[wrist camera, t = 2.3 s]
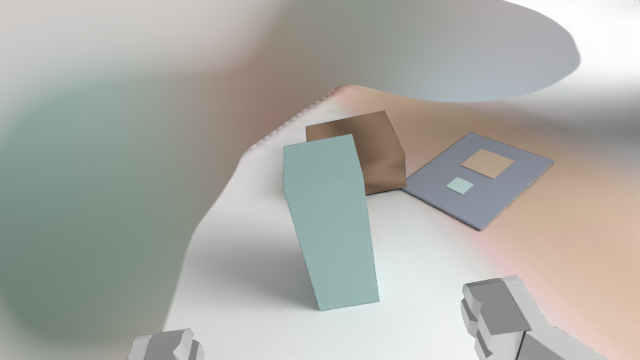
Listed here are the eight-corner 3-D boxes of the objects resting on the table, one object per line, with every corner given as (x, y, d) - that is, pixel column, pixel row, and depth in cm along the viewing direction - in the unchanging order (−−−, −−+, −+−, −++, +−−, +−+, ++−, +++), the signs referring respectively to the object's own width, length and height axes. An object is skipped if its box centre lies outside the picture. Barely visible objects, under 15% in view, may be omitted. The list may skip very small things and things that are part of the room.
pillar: (369, 255, 32) (351, 133, 24) (379, 301, 28) (362, 175, 21) (316, 264, 32) (283, 146, 25) (320, 311, 28) (283, 189, 21)
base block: (387, 140, 44) (384, 110, 42) (406, 187, 37) (404, 153, 35) (312, 155, 45) (305, 126, 42) (317, 204, 38) (308, 172, 35)
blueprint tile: (470, 134, 43) (470, 131, 42) (553, 163, 36) (554, 159, 36) (398, 187, 38) (398, 184, 37) (480, 231, 32) (481, 227, 31)
